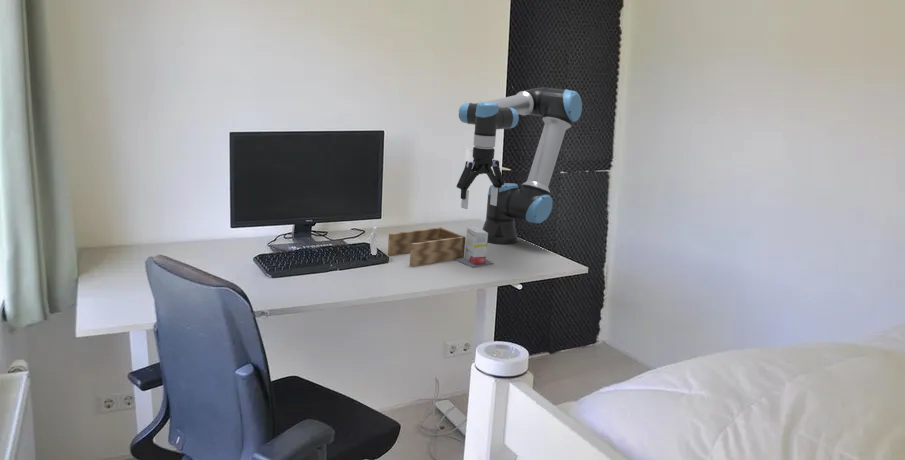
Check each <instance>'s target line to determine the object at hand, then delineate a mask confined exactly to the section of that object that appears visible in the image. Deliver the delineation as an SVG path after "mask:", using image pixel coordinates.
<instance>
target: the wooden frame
mask: <svg viewBox="0 0 905 460" xmlns="http://www.w3.org/2000/svg"><path fill="white" fill-rule="evenodd" d="M466 237H467V236H463V235H461V234H458V233H456V232H453V231H450V230H449V229H446V228H443V227H441V226H440V227H432V228H425V229H417V230H410V231H409V230H407V231H402V232H393V233H388V239H387V241H388V244H387V245H388V246H387V256H389V257H391V256H398V255H404V254H409V266H410V267H416V266H422V265H429V264H436V263H442V262H448V261H453V260H454V261H456V260H455V259H458V258H464V257H465V248H466Z"/></svg>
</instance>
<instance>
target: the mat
mask: <svg viewBox="0 0 905 460" xmlns="http://www.w3.org/2000/svg"><path fill="white" fill-rule="evenodd" d="M454 261H456V262H459V263H461V264H464V265H466V266H468V267H470V268H472V269H473V268H479V267H484V266H491V265H494V262H492V261H490V260H488V259H486V261H485V264H473V263H471V262H470V261H468V260H467V259H466V258H465V256H464V258H458V259H455V260H454Z"/></svg>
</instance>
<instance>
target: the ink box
mask: <svg viewBox="0 0 905 460" xmlns="http://www.w3.org/2000/svg"><path fill="white" fill-rule="evenodd" d="M466 229H467V230H466V236H465V237H466V238H465V250H464V257H465V258H466V259H467V260H468V261H470V262H471V263H473V264H485V261H486V260H487V258H486V257H487V250H488V249H487V248H488V242H487V239H488V233H487V232H486V231H484V230H483V228H481V227H479V226H468V227H467V228H466Z"/></svg>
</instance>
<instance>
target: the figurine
mask: <svg viewBox="0 0 905 460" xmlns="http://www.w3.org/2000/svg"><path fill="white" fill-rule="evenodd" d="M371 231H372V232H371V233H370V236H369V237H367V238H366V240H365V241H364V243H367V241H369V246H370V254H372V255H376V254H377V255H378V249H377V240H379V238H380V237H379V233H378V232H377V226H376V225H374V226H372V228H371ZM376 239H377V240H376Z"/></svg>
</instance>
